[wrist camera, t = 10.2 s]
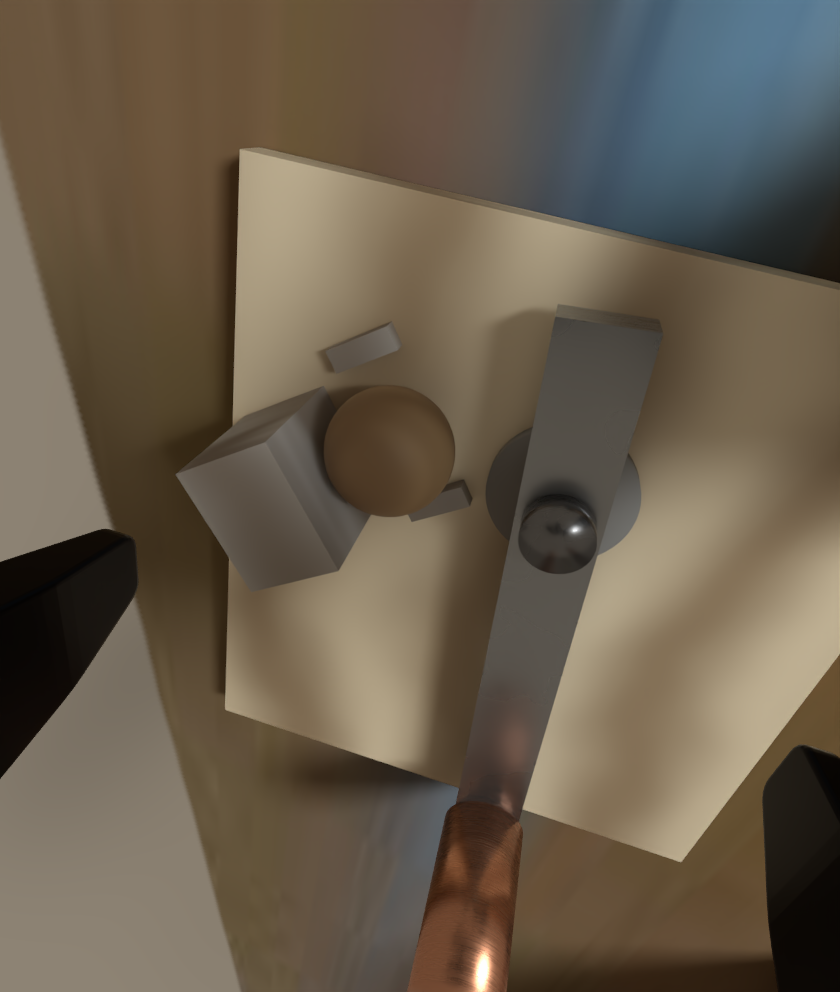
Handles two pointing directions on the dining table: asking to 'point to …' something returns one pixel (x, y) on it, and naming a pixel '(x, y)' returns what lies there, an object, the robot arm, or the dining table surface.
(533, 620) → the lever
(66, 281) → the dining table surface
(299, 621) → the base
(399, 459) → the walnut
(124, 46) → the dining table surface
